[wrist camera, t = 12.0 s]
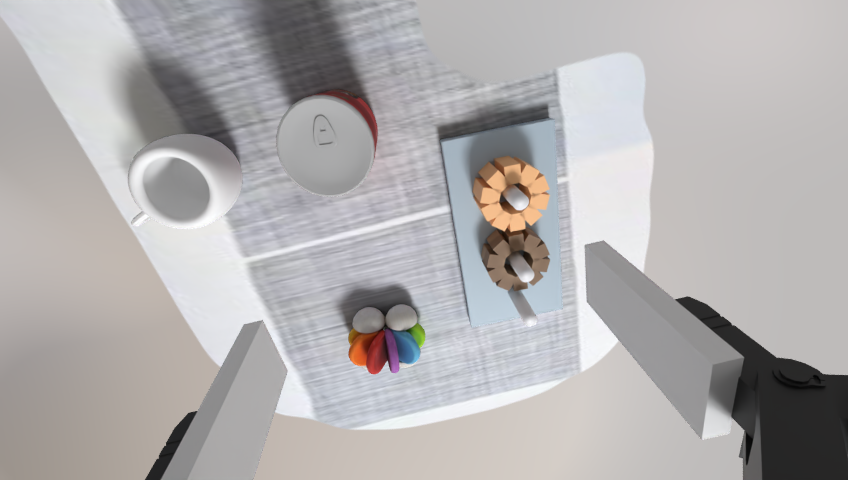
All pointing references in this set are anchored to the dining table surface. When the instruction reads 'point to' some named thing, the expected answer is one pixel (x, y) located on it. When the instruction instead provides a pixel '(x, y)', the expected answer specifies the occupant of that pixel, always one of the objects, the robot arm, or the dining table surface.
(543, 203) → the gear
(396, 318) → the multicolored petal toy
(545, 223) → the gear board
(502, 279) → the gear
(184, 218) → the mug
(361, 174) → the canned food
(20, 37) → the dining table surface
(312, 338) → the dining table surface
